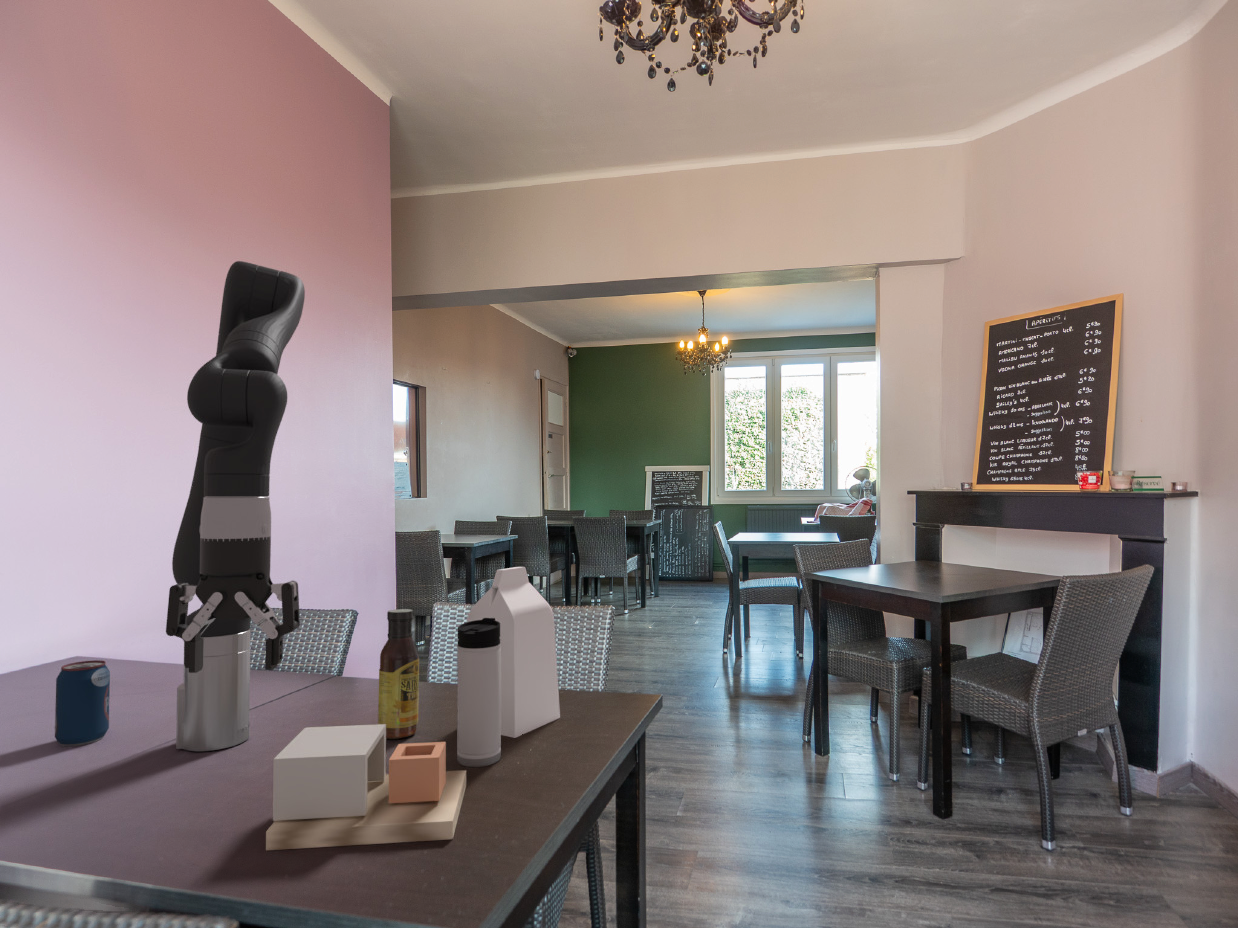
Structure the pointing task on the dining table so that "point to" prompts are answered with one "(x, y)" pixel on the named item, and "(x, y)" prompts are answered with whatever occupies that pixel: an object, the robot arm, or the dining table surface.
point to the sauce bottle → (399, 677)
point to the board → (377, 820)
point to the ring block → (417, 772)
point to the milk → (522, 651)
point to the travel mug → (479, 693)
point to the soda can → (82, 703)
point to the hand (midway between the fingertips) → (233, 670)
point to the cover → (328, 771)
